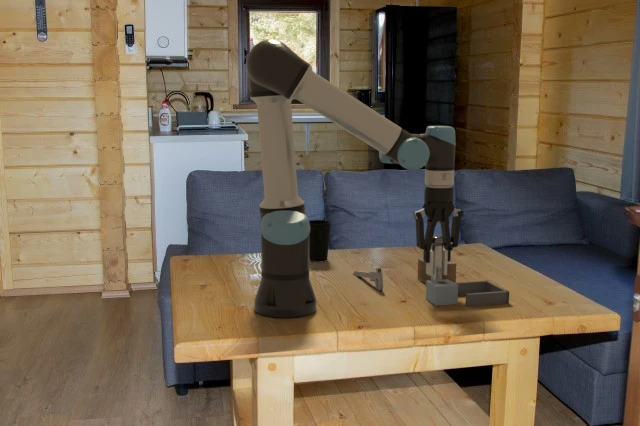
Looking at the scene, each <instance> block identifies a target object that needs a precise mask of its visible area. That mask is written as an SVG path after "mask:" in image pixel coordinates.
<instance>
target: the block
mask: <svg viewBox="0 0 640 426" xmlns="http://www.w3.org/2000/svg"><path fill="white" fill-rule="evenodd" d="M425 286H426V287H425V300H426V301H428V302H430V303H431V304H432V305H434V306H446V305H458V302H459V301H458V299H459V298H458V297H459V294H458V285H457V284H455V283H454V282H452V281H450V280H448V279H444V280H429V281H426V284H425Z"/></svg>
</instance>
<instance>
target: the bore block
mask: <svg viewBox="0 0 640 426" xmlns="http://www.w3.org/2000/svg"><path fill="white" fill-rule="evenodd" d="M444 279H448V280H450V281H452V282H454V283H457V281H456V280H457V262H454V261H453V260H451V259H450V262H447V275H444V274H442V280H444ZM417 280H418V281H420V282H422V283H423V284H425V285H426V281H429V280H431V276H430V275H428V274H426V263H425V262H424V260H423V257H422V258H417Z"/></svg>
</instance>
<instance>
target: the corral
mask: <svg viewBox="0 0 640 426" xmlns="http://www.w3.org/2000/svg"><path fill="white" fill-rule="evenodd" d="M455 284H457V285H458V295H465V307H474V306H475V307H476V306H489V305H500V304H502V305H503V304H504V305H505V304H509V303H510V291H509V290H508V289H505V288H504V287H501V286H500V285H498V284H495V283H493V282H491V281H489V280H488V279H487V280H475V281H474V280H473V281H461V282H460V281H459V282H457V281H456V283H455Z"/></svg>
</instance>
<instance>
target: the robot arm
mask: <svg viewBox="0 0 640 426" xmlns="http://www.w3.org/2000/svg"><path fill="white" fill-rule="evenodd" d="M246 69H247V75H248V86H249V87H248V88H249V97H250V99H251V101H253V102H254V103H255V105H256V108H257V109H256V110H257V120H258V121H257V122H258V133H259V143H260V144H259V145H260V155H261V157H260V158H261V168H262V169H261V171H262V179H263V180H262V181H263V183H262V184H263V194H264V199H263V200H262V201H261V203H259V206H258V207H259V217H260V219H259V220H260V226H259V227H260V228H259V229H260V230H259V231H260V241H261V242H260V243H261V244H260V246H261V247H260V252H261V253H260V254H261V255H260V257H261V258H260V259H261V261H260V262H261V270H260V271H261V277H260V278H261V279H260V282H259V285H258V288H257V292H256V295H255V297H254V306H253V307H254V311H255V313H257V314H259V315H262V316H266V317H268V318H269V317H271V318H280V319H288V318H290V319H291V318H299V317H305V316H308V315H312V314H313V313H315V312H316V311H317V297H316V295H315V291H314V289H313V285H312V282H311V279H310V259H309V233H310V225H309V221H310V219H309V217H308V216H307V215H306V208H305V207H306V206H305V201H304V200H303V199H302V198H301V197H300V196H299V192H298V191H299V190H298V189H299V188H298V179H297V178H298V177H297V164H296V152H295V140H294V139H295V135H294V123H293V112H292V111H293V110H292V101H293V100H297V101H298V102H300V103H302V104H303V105H304V106H306V107H308V108H309V109H311V110H313V111H314V112H316V113H318V114H319V115H321V116H323V118H326V119H328V120H329V121H331V122H332V123H333V124H335V125H337V126H338V127H340V128H341V129H343V130H344V131H346V132H348V133H350V134H351V135H353V136H355V137H356V138H358V139H359V140H361V141H362V142H364V143H365V144H367V145H368V146H371V148H373V149H375V150H377V151H378V157H379V161H380V162H381V163H383V164H391V165H393V164H397V165H400V166H401V167H402V168H404V169H406V170H408V171H416V170H417V171H418V170H420V169H422V168H424V184H425V185H426V186H424V192H423V193H424V195H423V197H424V198H423V200H424V201H423V203H424V204H423V205H422V208H420V209H419V210H414V211H413V212H412V213H413V216H414V219H415V232H416V233H415V235H416V247H417V248H419V249H421V250H423V257H422V258H423V260H424V262H425V263H426V274H428V275H430V276H433V253H434V251H432V241H433V236H435V235H434V234H435V229H436V226H437V224H438V223H439V224H440V228H441V235H442V237H444V242H443V267H442V274H444V275H447V262H450V260H451V257H452V256H451V253H452V251H453V250H454V248H457V247H458V246H459V238H460V228H461V220H462V217H463V215H464V211H463V210H462V209H459V208H455V204H454V199H455V198H454V195H455V194H454V193H455V188H454V187H453V185H454V184H455V162H456V161H455V159H456V146H457V144H456V130H455V128H454V127H453V126H449V125H428V126H427V127H426V129H425V133H420V134H419V133H410V132H409V131H407V130H406V129H403V128H402V127H401V126H399V125H398V124H396V123H394V122H393V121H391V120H390V119H389V118H386V117H385V116H384V115H382V114H380V113H379V112H377V111H376V110H375V109H373V108H371V107H369V106H368V105H367V104H365V103H363V102H362V101H360V100H359V99H357V98H356V97H354V96H352V95H351V94H349V93H347V92H346V91H344V90H343V89H341V88H340V87H338V86H337V85H335V84H334V83H333V82H330V81H329V80H327V79H326V78H324V77H323V76H322V75H320V74H318V73H316V72H315V71H314V70H313V66H312V65H311V64H310V63H309V62H307V61H306V60H304V59H303V58H301V57H300V56H299V55H298V54H297V53H295V52H294V51H293V50H292V48H290V47H289V46H288V45H287V44H285V43H284V42H282V41H280V40H276V39H264V40H262V41H259V42H258V43H256V44H255V45H254V46H252V48H251V49H250V51H249V53H248V55H247V57H246ZM425 216H426V217H427V221H426V229H425V225H424V223H425V222H424V218H425ZM451 216H452V220H451V227H450V217H451ZM450 228H451V229H450Z"/></svg>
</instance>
